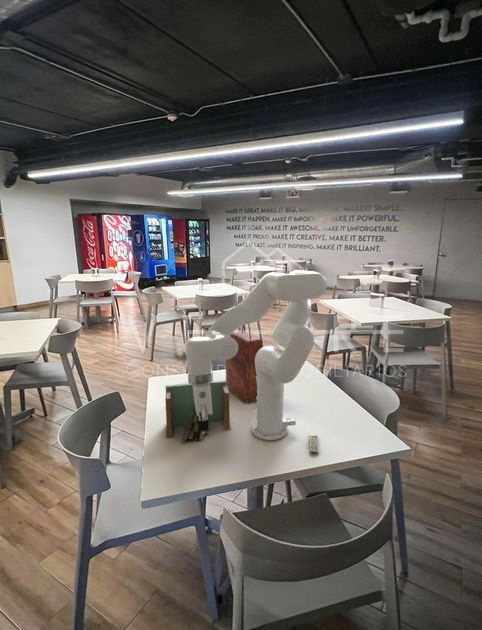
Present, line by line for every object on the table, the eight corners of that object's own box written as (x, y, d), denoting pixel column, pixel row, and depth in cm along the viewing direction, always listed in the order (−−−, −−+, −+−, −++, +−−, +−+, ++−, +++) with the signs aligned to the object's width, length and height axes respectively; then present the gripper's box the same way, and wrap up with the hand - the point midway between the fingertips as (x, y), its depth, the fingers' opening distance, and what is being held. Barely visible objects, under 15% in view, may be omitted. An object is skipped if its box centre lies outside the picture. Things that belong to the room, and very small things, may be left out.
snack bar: (319, 452, 108) (310, 449, 108) (317, 456, 108) (308, 452, 108) (317, 435, 117) (309, 432, 117) (315, 438, 118) (308, 435, 118)
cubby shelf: (226, 417, 130) (225, 380, 127) (229, 429, 122) (229, 389, 119) (167, 424, 125) (165, 385, 122) (167, 437, 116) (165, 395, 113)
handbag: (245, 404, 141) (246, 323, 134) (225, 387, 158) (225, 315, 150) (266, 398, 147) (268, 321, 140) (245, 383, 163) (245, 312, 156)
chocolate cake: (204, 445, 113) (212, 410, 119) (183, 440, 112) (193, 406, 118) (200, 450, 120) (209, 417, 127) (181, 445, 119) (190, 413, 126)
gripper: (215, 385, 97) (218, 441, 101) (210, 366, 111) (212, 416, 116) (189, 388, 96) (193, 445, 100) (187, 369, 110) (190, 419, 114)
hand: (203, 429), depth 108 cm, fingers closed
